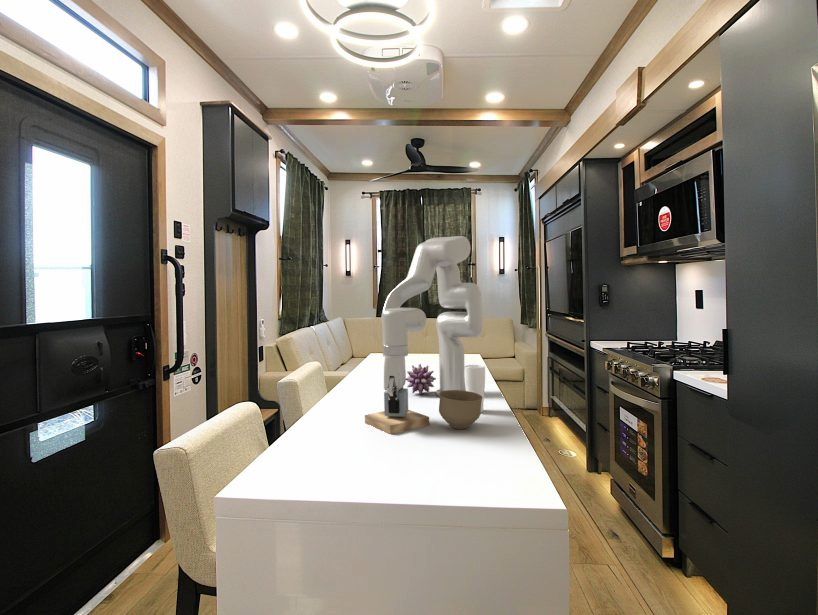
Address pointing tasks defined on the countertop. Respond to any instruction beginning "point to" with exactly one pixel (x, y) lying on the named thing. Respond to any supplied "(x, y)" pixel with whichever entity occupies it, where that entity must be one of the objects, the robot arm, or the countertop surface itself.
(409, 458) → the countertop surface
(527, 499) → the countertop surface
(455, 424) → the bowl
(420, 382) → the purple spiky ball
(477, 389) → the drinking glass
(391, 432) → the block
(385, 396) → the slate tea tin
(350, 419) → the countertop surface
